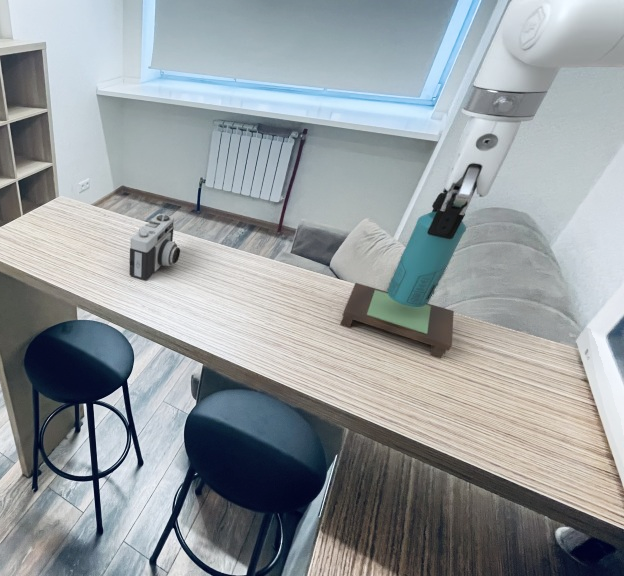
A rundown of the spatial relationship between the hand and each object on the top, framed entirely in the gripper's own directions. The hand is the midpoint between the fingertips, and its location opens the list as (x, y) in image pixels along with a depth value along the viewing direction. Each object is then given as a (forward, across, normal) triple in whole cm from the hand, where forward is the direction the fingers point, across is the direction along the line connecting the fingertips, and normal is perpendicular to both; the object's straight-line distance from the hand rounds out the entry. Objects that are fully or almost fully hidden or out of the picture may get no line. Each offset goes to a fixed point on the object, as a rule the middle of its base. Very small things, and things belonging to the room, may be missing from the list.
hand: (440, 226), depth 63 cm
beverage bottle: (+15, 0, 0) cm, 15 cm away
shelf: (+20, 0, 0) cm, 20 cm away
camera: (+20, -6, +46) cm, 51 cm away
